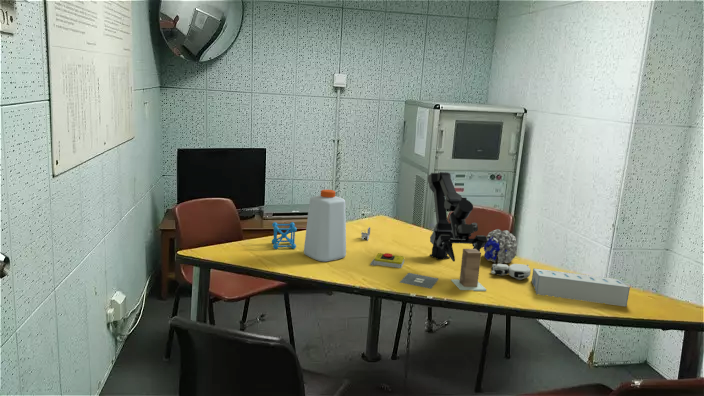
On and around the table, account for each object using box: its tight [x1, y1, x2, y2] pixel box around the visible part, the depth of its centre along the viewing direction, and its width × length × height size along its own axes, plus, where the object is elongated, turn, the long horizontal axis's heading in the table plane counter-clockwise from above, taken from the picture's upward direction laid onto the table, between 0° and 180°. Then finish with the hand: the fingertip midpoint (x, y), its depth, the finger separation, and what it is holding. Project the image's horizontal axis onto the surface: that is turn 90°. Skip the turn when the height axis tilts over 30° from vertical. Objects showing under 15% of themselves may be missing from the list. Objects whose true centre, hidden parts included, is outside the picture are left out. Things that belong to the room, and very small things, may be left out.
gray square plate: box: [399, 272, 439, 289], centre depth 185 cm, size 12×12×1 cm
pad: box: [450, 278, 487, 292], centre depth 183 cm, size 10×10×1 cm
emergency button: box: [369, 252, 405, 269], centre depth 202 cm, size 9×4×15 cm
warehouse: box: [531, 268, 630, 308], centre depth 182 cm, size 30×14×8 cm, turn 77°
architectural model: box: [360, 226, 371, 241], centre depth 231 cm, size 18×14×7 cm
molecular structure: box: [271, 221, 298, 250], centre depth 217 cm, size 10×10×10 cm
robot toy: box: [490, 263, 531, 281], centre depth 197 cm, size 12×4×15 cm
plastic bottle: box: [303, 189, 347, 263], centre depth 205 cm, size 15×15×28 cm
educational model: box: [483, 228, 518, 264], centre depth 216 cm, size 14×20×15 cm
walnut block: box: [459, 248, 482, 287], centre depth 182 cm, size 5×5×13 cm
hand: (465, 261), depth 186 cm, fingers open, 9 cm apart
